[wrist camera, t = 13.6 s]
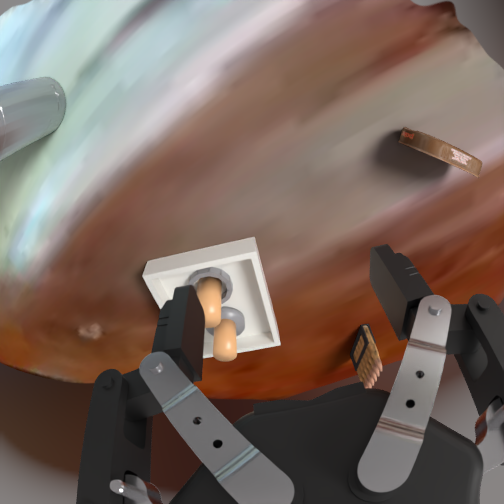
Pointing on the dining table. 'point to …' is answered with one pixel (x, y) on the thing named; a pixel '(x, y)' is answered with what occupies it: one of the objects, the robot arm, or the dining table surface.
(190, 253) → the housing
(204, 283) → the tan rounded sausage
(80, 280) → the dining table surface
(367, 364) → the ammunition clip
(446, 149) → the tin
